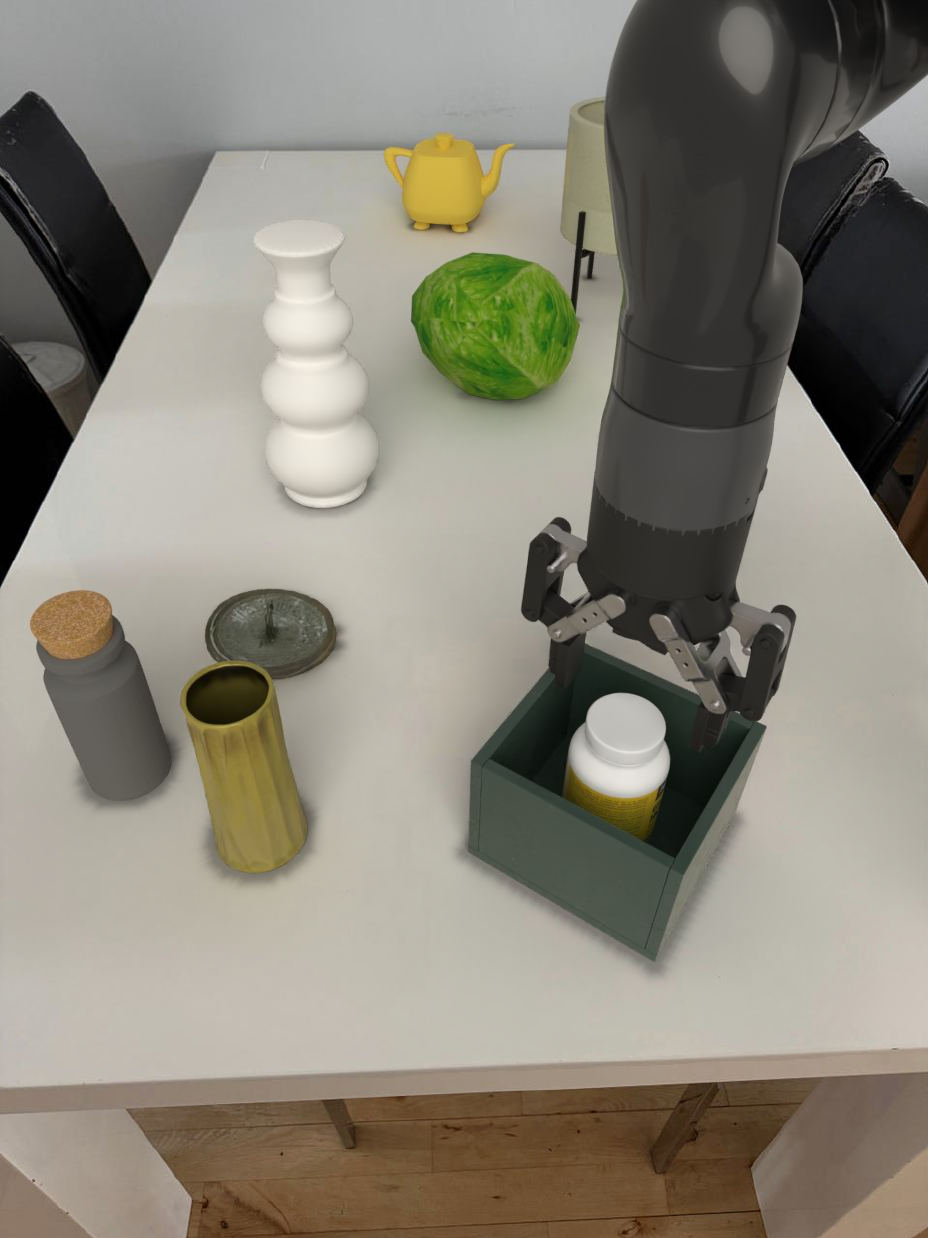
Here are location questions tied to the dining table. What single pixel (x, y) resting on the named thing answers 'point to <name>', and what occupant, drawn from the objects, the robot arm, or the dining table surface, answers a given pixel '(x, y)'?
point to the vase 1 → (244, 765)
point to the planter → (586, 189)
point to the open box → (587, 845)
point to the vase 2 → (313, 372)
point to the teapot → (444, 180)
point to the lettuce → (495, 325)
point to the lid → (272, 631)
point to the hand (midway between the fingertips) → (632, 708)
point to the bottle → (100, 695)
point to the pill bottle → (619, 763)
